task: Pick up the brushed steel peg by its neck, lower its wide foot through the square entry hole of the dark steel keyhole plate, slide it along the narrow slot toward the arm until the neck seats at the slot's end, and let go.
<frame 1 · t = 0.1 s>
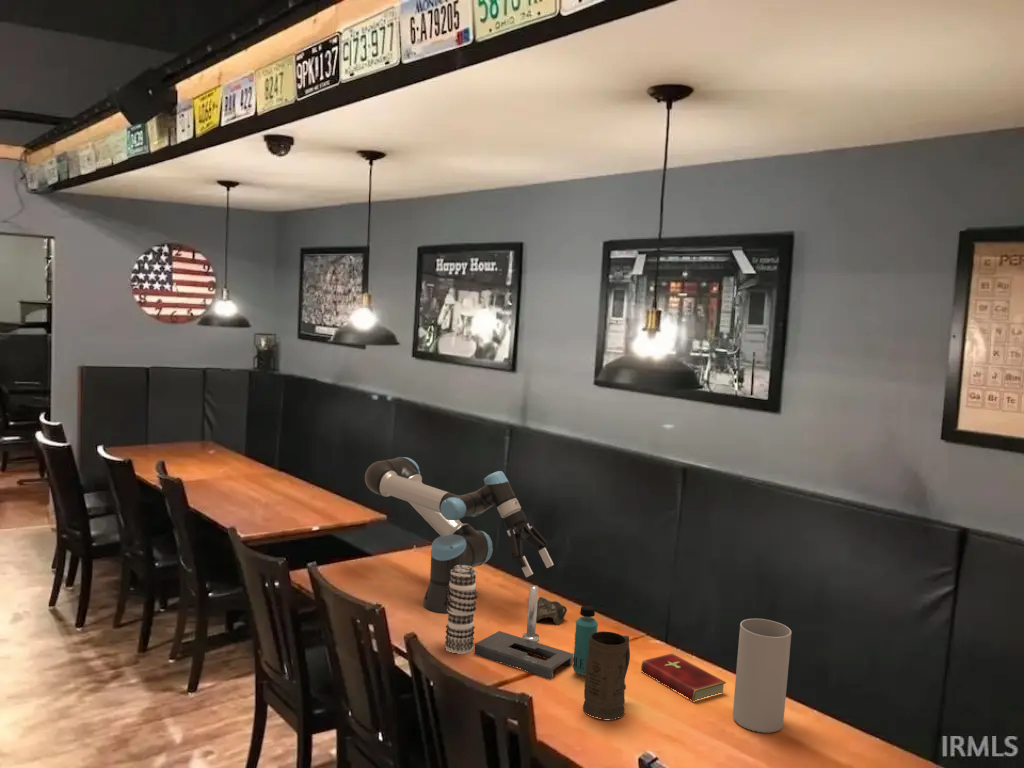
hand: (540, 571, 275), 15 cm above the table, tool tilted 35°, fingers open, 13 cm apart
decorative candle: (459, 648, 246), on the table
beverage bottle: (583, 676, 232), on the table
steel peg: (530, 639, 256), on the table
fossil: (550, 620, 274), on the table
hardcover book: (681, 685, 231), on the table
keyhole plate: (523, 659, 241), on the table
cylinder vase: (757, 722, 211), on the table
beer stein: (607, 708, 214), on the table
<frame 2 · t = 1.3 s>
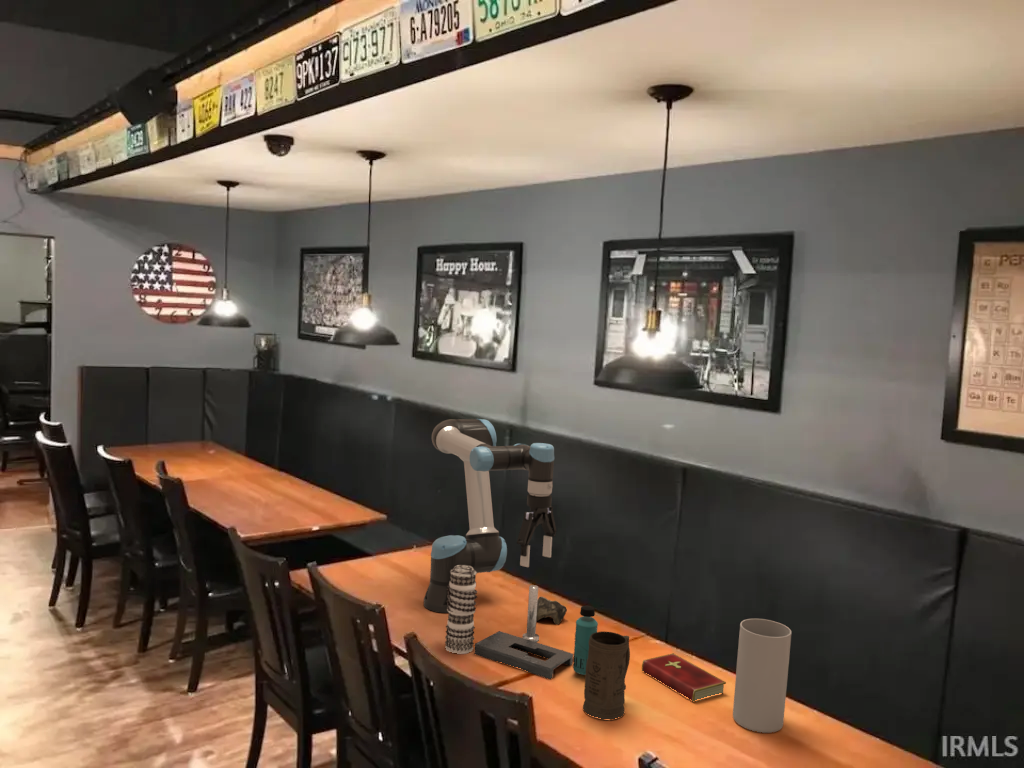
hand: (535, 561, 254), 25 cm above the table, tool pointing down, fingers open, 13 cm apart
nothing on the table moved.
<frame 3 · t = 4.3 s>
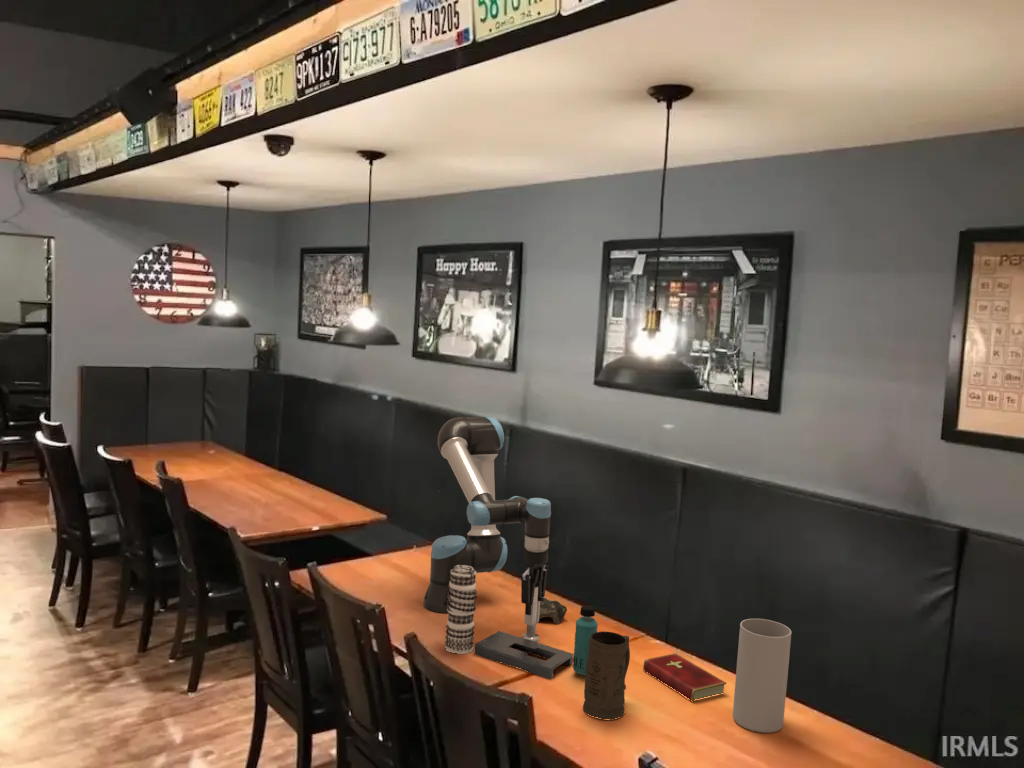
hand: (531, 622, 255), 6 cm above the table, tool pointing down, fingers closed on steel peg, 3 cm apart
steel peg: (530, 639, 256), on the table, touching gripper
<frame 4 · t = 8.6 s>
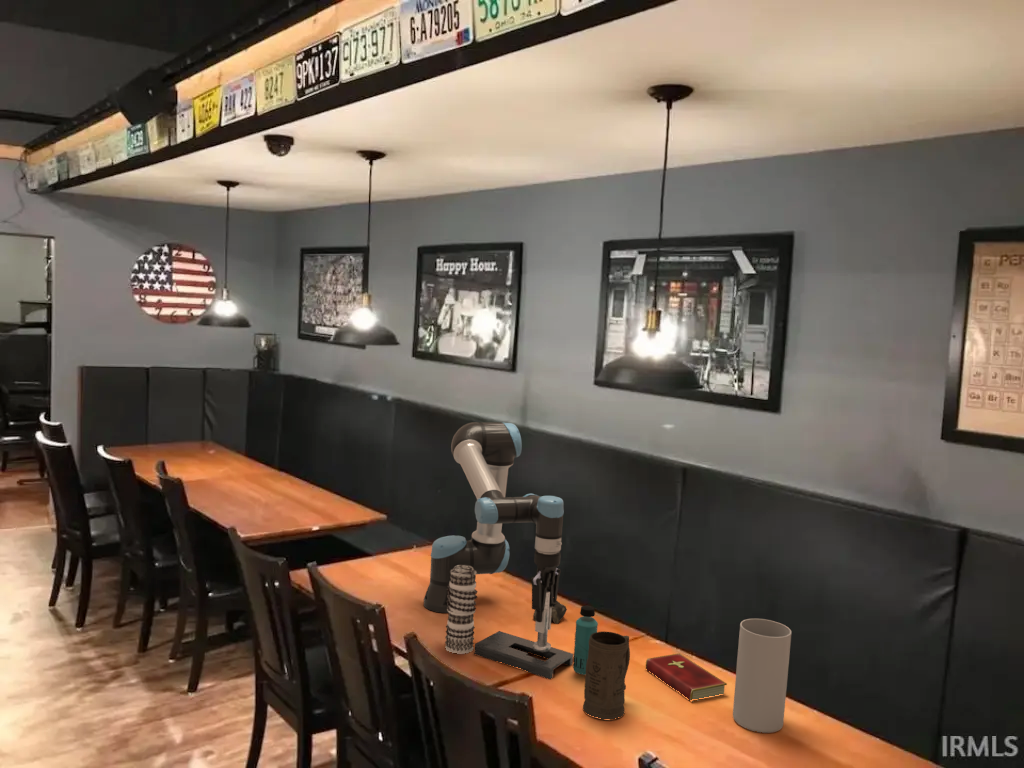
hand: (542, 629, 237), 10 cm above the table, tool pointing down, fingers closed on steel peg, 3 cm apart
steel peg: (541, 648, 237), point 5 cm above the table, touching gripper
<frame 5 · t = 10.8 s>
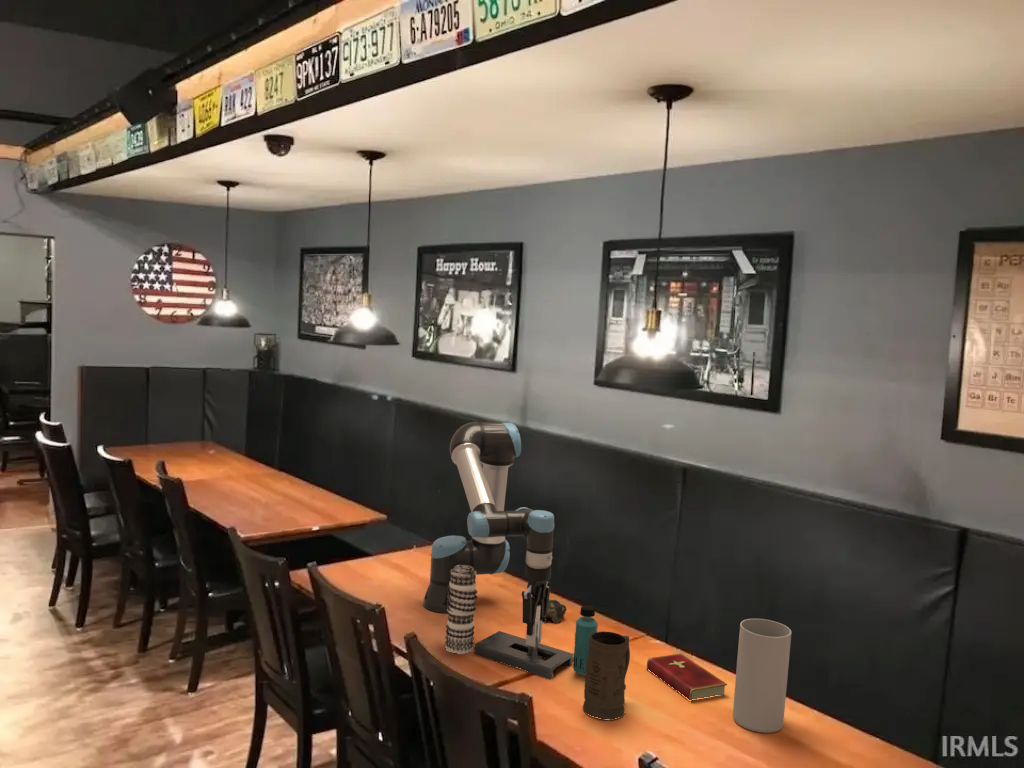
hand: (533, 643, 239), 6 cm above the table, tool pointing down, fingers closed on steel peg, 3 cm apart
steel peg: (532, 661, 239), on the table, touching gripper
when the fingers open (6 cm above the table, at t = 12.8 s): steel peg stays where it is, on the table.
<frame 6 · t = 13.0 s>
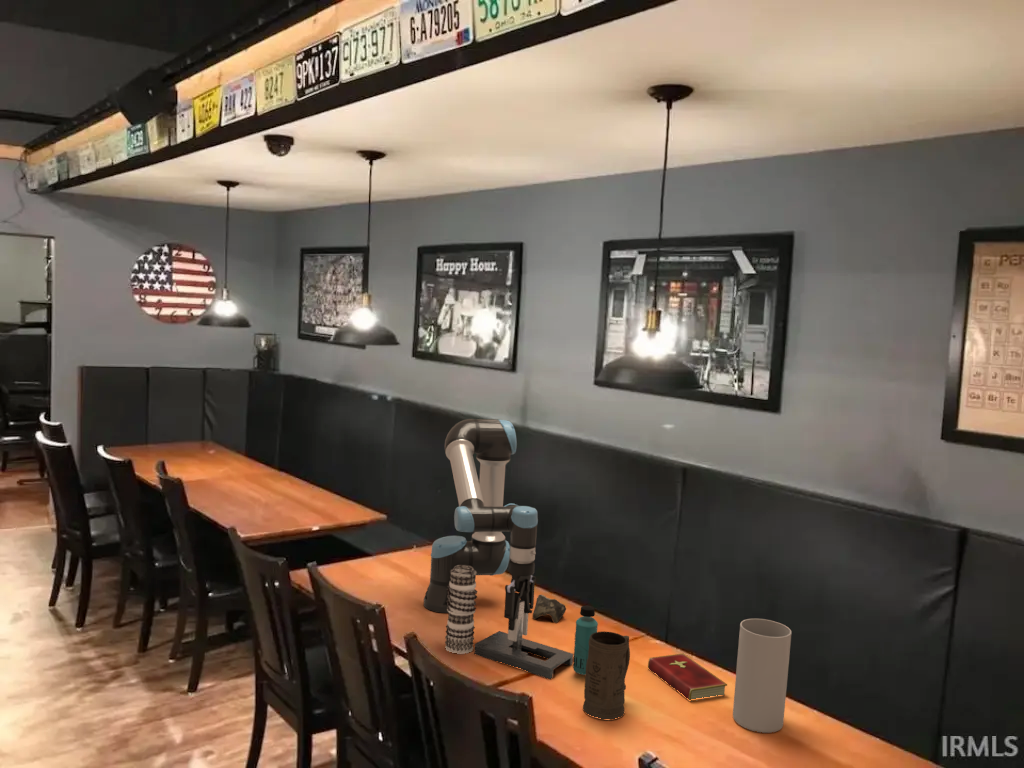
hand: (517, 636, 241), 6 cm above the table, tool pointing down, fingers open, 5 cm apart
steel peg: (516, 657, 242), on the table
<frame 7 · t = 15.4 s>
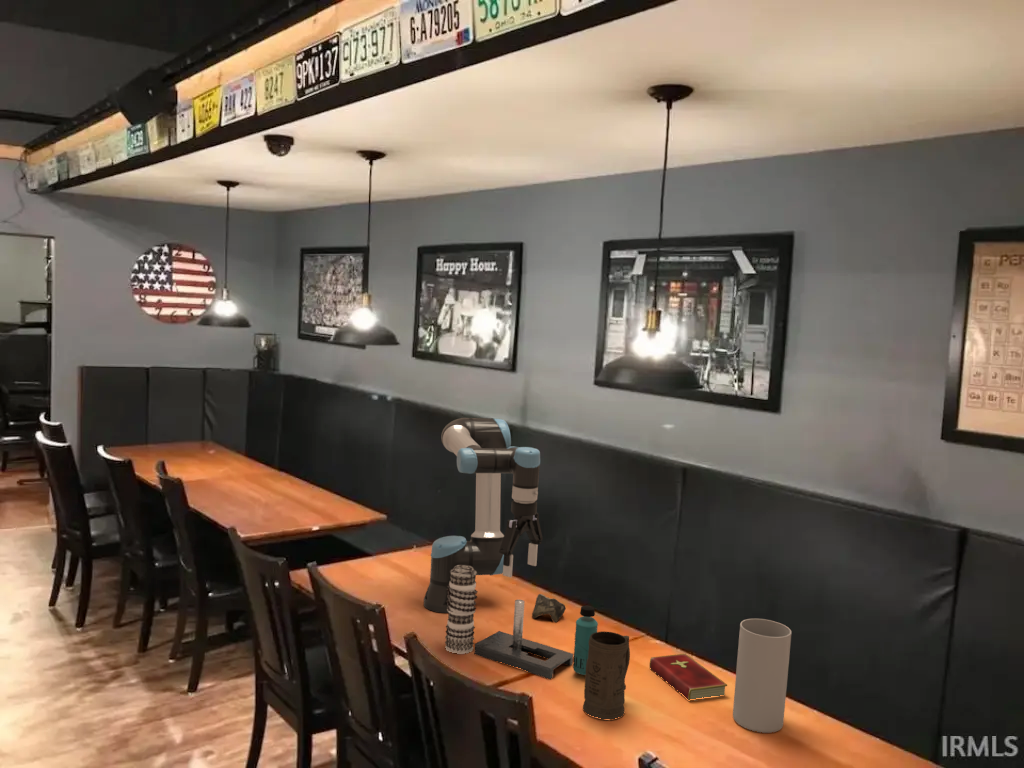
hand: (519, 570, 243), 25 cm above the table, tool pointing down, fingers open, 13 cm apart
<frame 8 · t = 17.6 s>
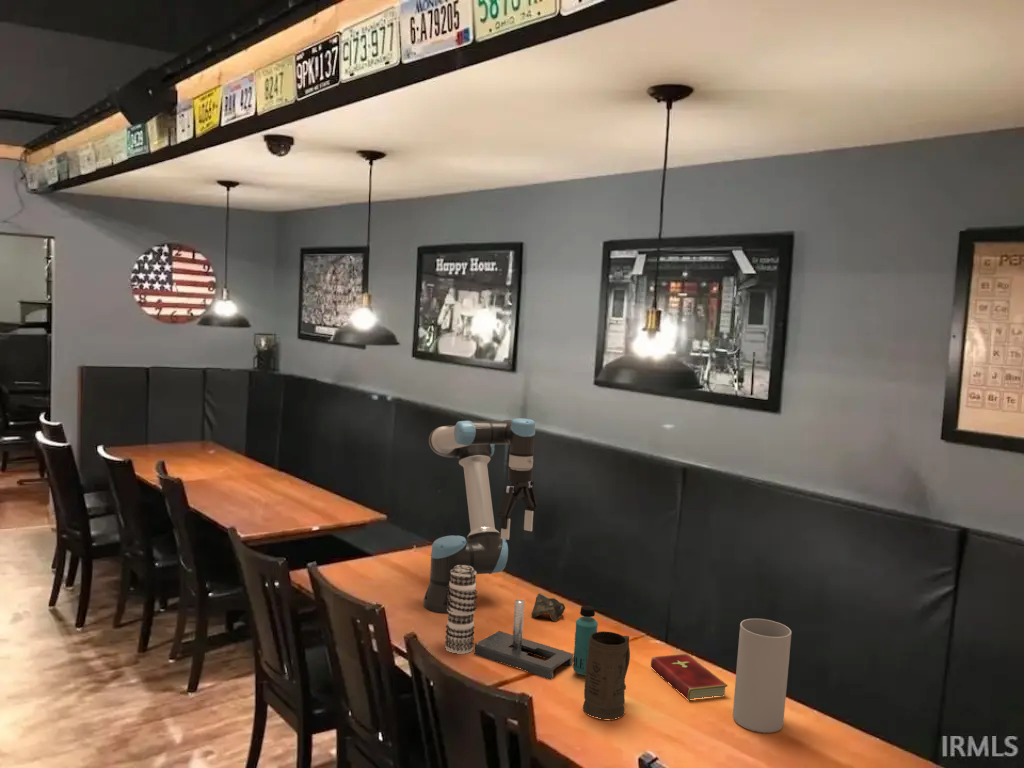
hand: (516, 534, 258), 32 cm above the table, tool pointing down, fingers open, 13 cm apart
at the end: steel peg 0.2 cm from the target spot on the keyhole plate, point 0.0 cm above the keyhole plate's base; steel peg tilted 0°; the gripper is holding nothing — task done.
